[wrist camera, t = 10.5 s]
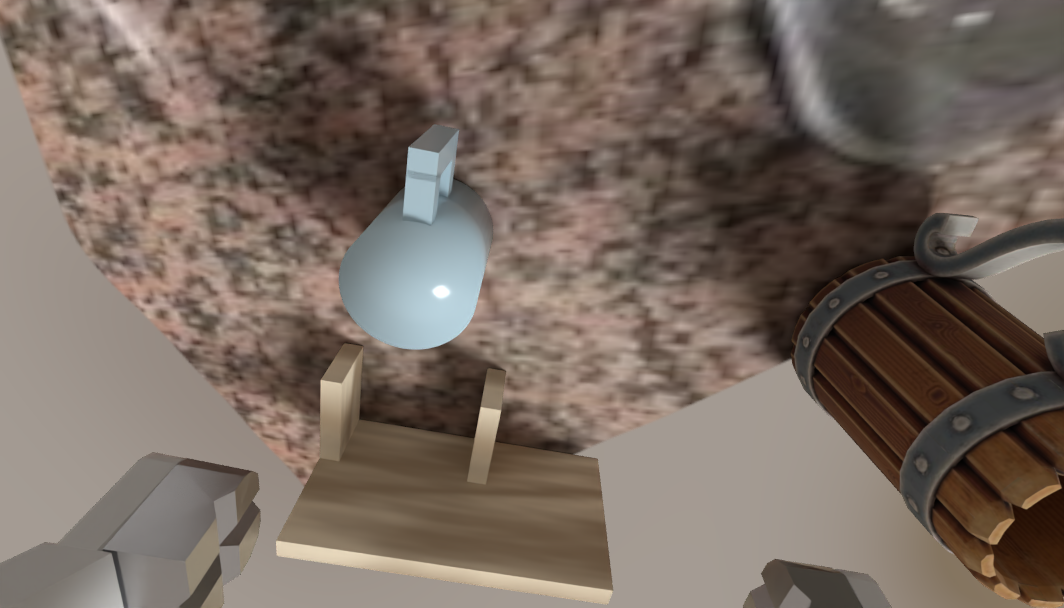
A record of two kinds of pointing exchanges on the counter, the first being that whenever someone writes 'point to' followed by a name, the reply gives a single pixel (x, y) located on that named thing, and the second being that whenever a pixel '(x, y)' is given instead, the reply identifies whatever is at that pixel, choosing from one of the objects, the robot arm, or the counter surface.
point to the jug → (420, 253)
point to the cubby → (448, 501)
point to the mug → (952, 398)
